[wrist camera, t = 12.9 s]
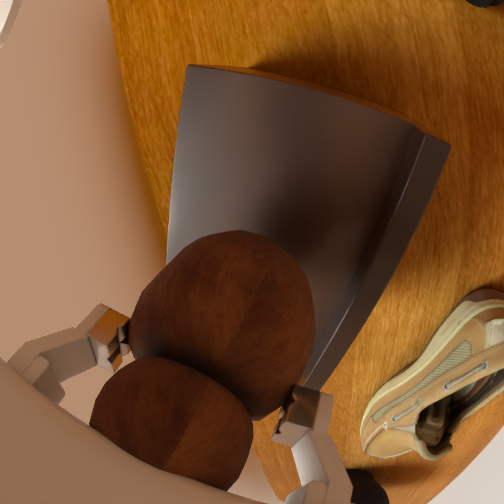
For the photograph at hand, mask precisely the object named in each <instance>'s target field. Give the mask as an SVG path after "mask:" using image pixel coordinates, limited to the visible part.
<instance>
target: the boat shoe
mask: <svg viewBox="0 0 504 504" xmlns="http://www.w3.org/2000/svg"><path fill="white" fill-rule="evenodd" d="M502 392H504V293H503V292H501V291H498V290H494V289H480V290H476V291H474V292H472V293H470V294H469V295H467V296H466V297H465V298H464V299H463V300H462V301H461V302H460V303H458V304H457V306H456V307H455V308H454V309H453V310H452V311H451V312H450V314H449V315H448V316H447V317H446V319H445V320H444V321H443V322H442V324H441V325H440V326H439V327H438V329H437V330H436V332H435V333H434V334H433V335H432V337H431V338H430V340H429V341H428V343H427V345H426V347H425V349H424V350H423V352H422V354H421V355H420V356H419V357H418V359H417V360H416V361H415V362H414V363H413V364H411V365H410V366H408V367H406V368H404V369H402V370H401V371H399V372H398V373H397V374H396V375H394V376H393V377H392V378H391V379H389V380H388V381H387V382H386V383H385V384H384V385H383V386H382V387H380V389H379V390H378V391H377V392H376V393H375V395H374V396H373V398H372V399H371V401H370V403H369V404H368V406H367V409H366V411H365V413H364V416H363V419H362V423H361V427H360V444H361V447H362V449H363V450H364V452H365V454H367V455H369V456H371V457H374V458H378V459H390V458H395V457H399V456H401V455H404V454H406V453H409V452H412V451H414V450H415V451H417V452H418V453H420V455H421V456H422V457H423V458H425V459H427V460H436V459H439V458H441V457H443V456H445V455H446V454H448V453H449V452H450V451H451V450H452V445H451V443H450V440H451V438H452V436H453V433H455V432H456V430H457V429H458V428H459V426H460V424H461V423H462V422H463V421H464V420H466V419H468V418H469V417H471V416H472V415H473V414H475V413H476V412H477V411H479V410H480V409H481V408H482V407H484V406H485V405H486V404H488V403H489V402H491V400H492V399H493V398H495V397H496V396H498V395H499V394H500V393H502Z"/></svg>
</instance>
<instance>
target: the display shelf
mask: <svg viewBox="0 0 504 504" xmlns="http://www.w3.org/2000/svg"><path fill="white" fill-rule="evenodd" d="M450 149H451V145H450V144H449V143H448V142H446V141H445V140H443V139H442V138H440V137H439V136H437V135H436V134H434V133H433V132H431V131H430V130H428V129H427V128H426V127H424V126H422V125H421V124H419V123H418V122H416V121H414V120H413V119H411V118H410V117H408V116H406V115H405V114H403V113H400V112H398V111H395V110H393V109H390V108H388V107H385V106H383V105H380V104H377V103H374V102H372V101H369V100H366V99H363V98H360V97H357V96H355V95H352V94H348V93H345V92H342V91H339V90H336V89H333V88H329V87H326V86H322V85H319V84H315V83H312V82H308V81H304V80H300V79H297V78H293V77H288V76H284V75H280V74H276V73H271V72H266V71H262V70H257V69H252V68H245V67H233V66H219V65H196V64H189V65H188V66H187V71H186V76H185V83H184V89H183V95H182V102H181V109H180V116H179V123H178V131H177V139H176V147H175V156H174V165H173V175H172V186H171V197H170V209H169V223H168V239H167V260H166V265H167V264H168V263H169V262H170V261H171V260H172V259H173V258H174V257H175V256H176V255H177V254H178V253H179V252H180V251H181V250H182V249H183V248H184V247H186V246H187V245H189V244H190V243H192V242H194V241H195V240H197V239H199V238H201V237H204V236H207V235H211V234H215V233H221V232H227V231H232V230H244V231H248V232H252V233H256V234H260V235H262V236H264V237H266V238H268V239H270V240H272V241H274V242H276V243H278V244H279V245H280V246H281V247H282V248H284V249H285V250H286V251H287V252H288V253H289V254H291V255H292V257H293V258H294V259H295V261H296V262H297V263H298V265H299V266H300V267H301V269H302V270H303V272H304V274H305V276H306V277H307V280H308V283H309V286H310V289H311V293H312V299H313V305H314V311H315V327H316V331H315V336H314V342H313V348H312V351H311V354H310V357H309V360H308V363H307V366H306V369H305V371H304V373H303V375H302V377H301V379H300V381H299V383H298V385H300V386H303V387H307V388H310V389H314V390H317V391H320V389H321V388H322V386H323V385H324V384H325V382H326V381H327V379H328V378H329V377H330V375H331V374H332V372H333V371H334V369H335V368H336V367H337V365H338V364H339V362H340V361H341V359H342V358H343V356H344V355H345V353H346V352H347V350H348V349H349V347H350V346H351V344H352V343H353V341H354V340H355V338H356V336H357V335H358V333H359V332H360V330H361V328H362V327H363V325H364V324H365V322H366V320H367V319H368V317H369V315H370V314H371V312H372V310H373V309H374V307H375V305H376V304H377V302H378V300H379V299H380V297H381V295H382V293H383V292H384V290H385V288H386V286H387V285H388V283H389V281H390V279H391V277H392V275H393V274H394V272H395V270H396V268H397V266H398V264H399V262H400V261H401V259H402V257H403V255H404V253H405V251H406V249H407V247H408V245H409V243H410V241H411V239H412V237H413V235H414V233H415V231H416V229H417V227H418V225H419V222H420V220H421V218H422V216H423V214H424V212H425V209H426V207H427V205H428V203H429V201H430V198H431V196H432V194H433V191H434V189H435V187H436V184H437V182H438V179H439V177H440V175H441V172H442V170H443V167H444V165H445V162H446V159H447V157H448V154H449V151H450Z"/></svg>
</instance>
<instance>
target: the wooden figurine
mask: <svg viewBox="0 0 504 504" xmlns="http://www.w3.org/2000/svg"><path fill="white" fill-rule="evenodd" d="M315 331H316V327H315V311H314V305H313V299H312V293H311V289H310V286H309V283H308V280H307V277H306V276H305V274H304V272H303V270H302V269H301V267H300V266H299V265H298V263H297V262H296V261H295V259H294V258H293V257H292V255H291V254H289V253H288V252H287V251H286V250H285V249H284V248H282V247H281V246H280V245H279V244H278V243H276V242H274V241H272V240H270V239H268V238H266V237H264V236H262V235H260V234H256V233H252V232H248V231H244V230H232V231H227V232H221V233H215V234H211V235H207V236H204V237H201V238H199V239H197V240H195V241H194V242H192V243H190V244H189V245H187V246H186V247H184V248H183V249H182V250H181V251H180V252H179V253H178V254H177V255H176V256H175V257H174V258H173V259H172V260H171V261H170V262H169V263H168V264H167V265H166V267H165V268H164V269H163V270H162V271H161V272H160V273H159V274H158V275H157V276H156V277H155V278H154V279H153V280H152V281H151V283H150V284H149V285H148V286H147V287H146V288H145V289H144V290H143V291H142V293H141V296H140V298H139V300H138V302H137V305H136V307H135V310H134V312H133V314H132V317H131V319H130V322H129V328H128V335H129V345H130V348H131V351H132V353H133V356H134V358H135V361H133V362H131V363H129V364H128V365H126V366H125V367H123V368H121V369H120V370H118V371H117V372H116V373H115V374H114V375H113V376H112V377H111V378H110V379H109V380H108V381H107V382H106V383H105V385H104V386H103V388H102V390H101V391H100V393H99V395H98V396H97V398H96V400H95V404H94V408H93V411H92V415H91V419H90V423H89V425H90V427H92V428H94V429H95V430H97V431H98V432H100V433H102V434H103V435H104V436H105V437H107V438H108V439H109V440H110V441H112V442H113V443H114V444H115V445H117V446H118V447H120V448H121V449H122V450H124V451H126V452H127V453H129V454H131V455H132V456H134V457H136V458H137V459H139V460H141V461H143V462H145V463H147V464H149V465H151V466H153V467H155V468H158V469H160V470H163V471H166V472H169V473H172V474H176V475H180V476H184V477H188V478H191V479H194V480H196V481H199V482H202V483H204V484H207V485H210V486H212V487H215V488H218V489H221V490H224V491H226V492H227V490H228V489H229V488H230V487H231V486H232V485H233V484H234V483H235V482H236V481H237V479H238V478H239V476H240V474H241V472H242V470H243V468H244V465H245V463H246V461H247V458H248V455H249V451H250V448H251V444H252V440H253V423H252V421H260V420H261V419H263V418H264V417H266V416H267V415H269V414H270V413H272V412H273V411H275V410H276V409H278V408H279V407H281V406H282V405H283V404H284V403H285V401H287V399H288V396H289V393H290V391H291V389H292V387H293V385H294V384H297V385H298V383H299V381H300V379H301V377H302V375H303V373H304V371H305V369H306V366H307V363H308V360H309V357H310V354H311V351H312V348H313V342H314V336H315Z"/></svg>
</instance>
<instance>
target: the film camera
mask: <svg viewBox="0 0 504 504" xmlns="http://www.w3.org/2000/svg"><path fill="white" fill-rule="evenodd" d="M466 1H467V2H469V3H471V4H473V5H475V6H477V7H486V8H487V7H488V6H496V5H500V4H501V3H503V2H504V0H466Z"/></svg>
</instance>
